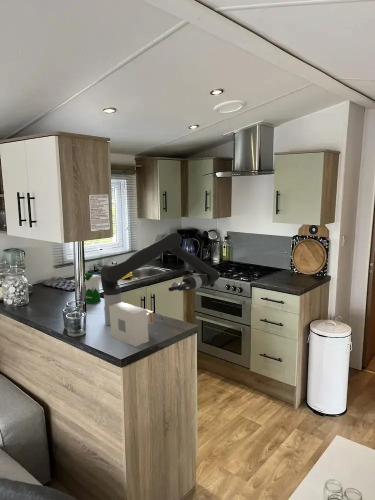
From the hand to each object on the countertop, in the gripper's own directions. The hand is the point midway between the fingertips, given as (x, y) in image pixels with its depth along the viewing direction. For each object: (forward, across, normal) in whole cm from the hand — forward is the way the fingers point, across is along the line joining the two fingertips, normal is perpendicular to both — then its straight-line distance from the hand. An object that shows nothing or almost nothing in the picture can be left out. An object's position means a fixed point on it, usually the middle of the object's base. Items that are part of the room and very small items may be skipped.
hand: (169, 289), depth 205 cm
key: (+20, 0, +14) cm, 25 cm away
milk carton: (+5, -71, +19) cm, 74 cm away
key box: (+28, 0, +19) cm, 34 cm away
